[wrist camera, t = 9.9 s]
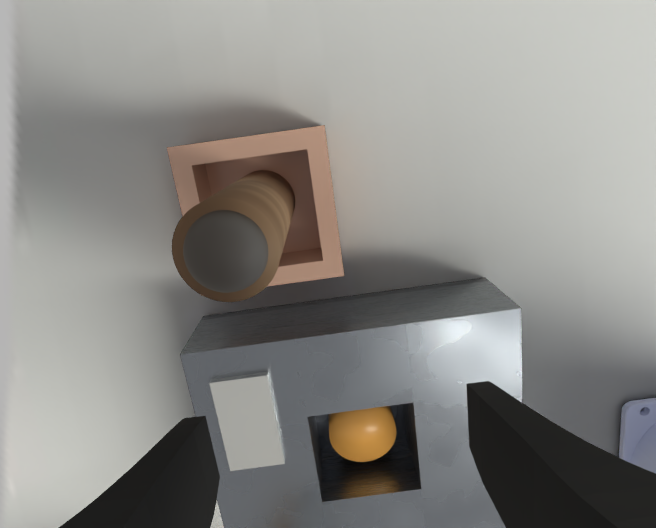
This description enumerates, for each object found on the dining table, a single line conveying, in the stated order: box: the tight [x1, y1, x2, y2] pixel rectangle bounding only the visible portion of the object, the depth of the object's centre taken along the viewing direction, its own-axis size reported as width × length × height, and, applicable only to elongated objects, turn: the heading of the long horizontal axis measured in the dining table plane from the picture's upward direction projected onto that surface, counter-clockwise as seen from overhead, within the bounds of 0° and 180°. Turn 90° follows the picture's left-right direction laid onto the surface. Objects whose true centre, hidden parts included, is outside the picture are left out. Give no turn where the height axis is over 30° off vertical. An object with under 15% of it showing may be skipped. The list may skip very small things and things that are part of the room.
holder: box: [167, 125, 344, 296], centre depth 19 cm, size 6×6×2 cm
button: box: [328, 406, 397, 462], centre depth 22 cm, size 3×3×1 cm
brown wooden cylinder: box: [172, 170, 295, 302], centre depth 15 cm, size 3×3×10 cm
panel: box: [180, 278, 522, 528], centre depth 22 cm, size 14×12×4 cm
